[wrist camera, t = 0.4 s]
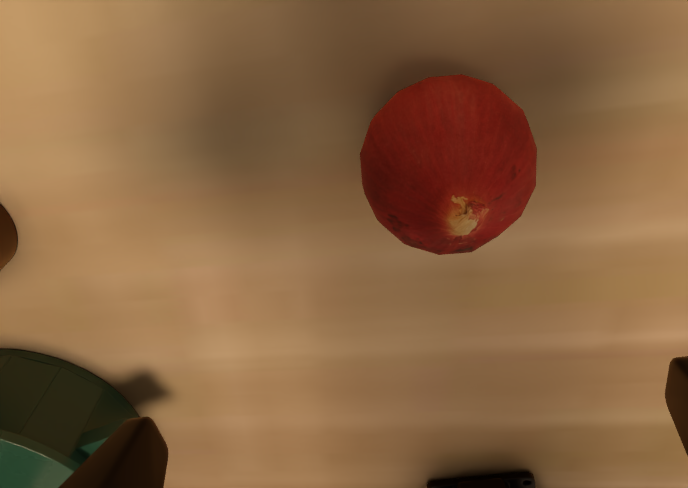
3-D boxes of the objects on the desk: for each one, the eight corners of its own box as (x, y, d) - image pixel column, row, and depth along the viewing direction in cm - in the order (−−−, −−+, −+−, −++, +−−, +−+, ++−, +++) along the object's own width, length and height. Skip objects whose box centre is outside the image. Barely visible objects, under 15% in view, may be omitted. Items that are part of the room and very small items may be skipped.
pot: (225, 448, 33) (205, 529, 29) (7, 517, 38) (-37, 595, 34) (83, 300, 27) (32, 375, 23) (-154, 404, 32) (-232, 483, 28)
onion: (504, 186, 23) (562, 309, 16) (367, 196, 23) (369, 320, 17) (513, 42, 20) (590, 122, 13) (354, 58, 20) (351, 142, 14)
